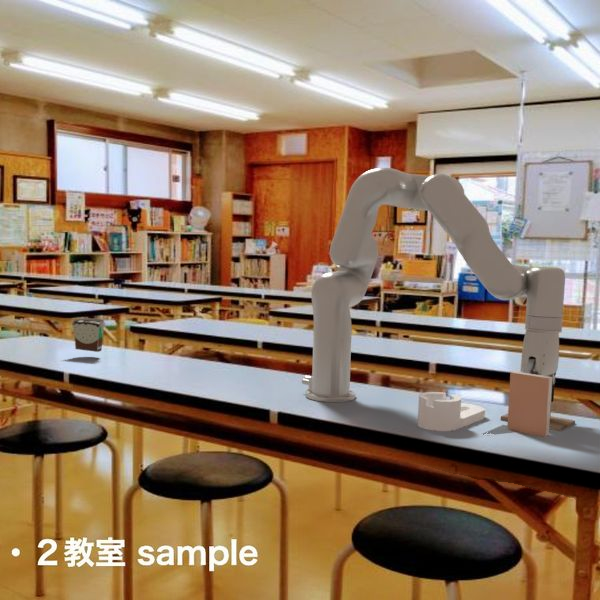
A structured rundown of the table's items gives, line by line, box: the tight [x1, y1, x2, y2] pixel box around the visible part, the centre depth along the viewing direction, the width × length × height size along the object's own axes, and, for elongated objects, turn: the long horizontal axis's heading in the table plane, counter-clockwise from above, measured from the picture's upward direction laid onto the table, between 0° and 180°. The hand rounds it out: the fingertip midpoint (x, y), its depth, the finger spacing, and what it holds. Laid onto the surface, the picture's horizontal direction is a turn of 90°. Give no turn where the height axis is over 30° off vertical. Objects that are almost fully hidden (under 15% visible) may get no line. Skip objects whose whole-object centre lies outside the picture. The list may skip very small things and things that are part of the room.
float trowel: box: [500, 373, 576, 432], centre depth 148 cm, size 9×13×11 cm
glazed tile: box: [507, 370, 552, 437], centre depth 139 cm, size 8×2×12 cm, turn 49°
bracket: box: [417, 391, 486, 432], centre depth 147 cm, size 20×9×7 cm, turn 140°
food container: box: [71, 317, 107, 353], centre depth 226 cm, size 12×6×10 cm, turn 65°
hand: (538, 403), depth 148 cm, fingers open, 7 cm apart
